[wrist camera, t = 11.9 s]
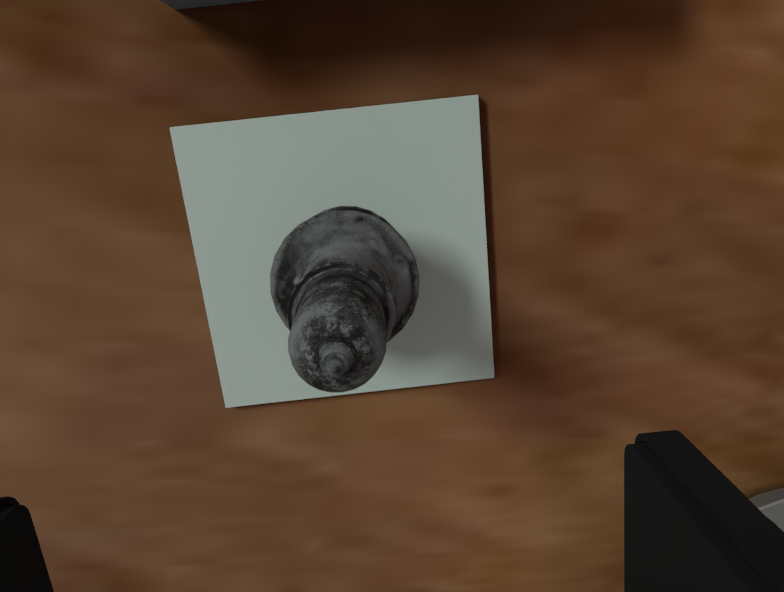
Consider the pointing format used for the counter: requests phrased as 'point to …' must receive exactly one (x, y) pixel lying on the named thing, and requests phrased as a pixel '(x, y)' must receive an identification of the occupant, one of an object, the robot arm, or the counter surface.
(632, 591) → the robot arm
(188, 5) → the crate
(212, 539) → the counter surface
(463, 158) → the mat
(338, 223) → the stone chess piece
